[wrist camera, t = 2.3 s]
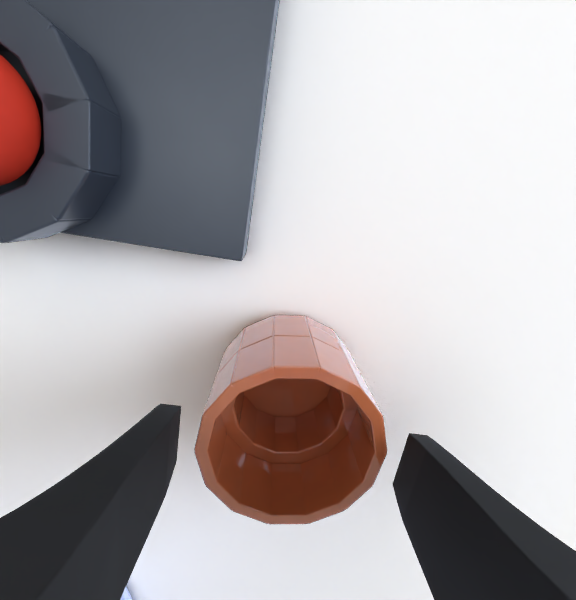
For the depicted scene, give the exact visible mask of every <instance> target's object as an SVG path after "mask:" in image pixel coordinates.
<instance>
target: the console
mask: <svg viewBox="0 0 576 600" xmlns="http://www.w3.org/2000/svg"><path fill="white" fill-rule="evenodd" d="M278 8H279V0H0V55H1V56H3V57H4V58H5V59H6V60H7V61H8V62H9V63H10V64H11V65H12V66H13V67H14V68H15V69H16V70H17V71H18V73H19V74H20V75H21V77H22V78H23V79H24V81H25V82H26V84H27V86H28V87H29V89H30V91H31V93H32V95H33V97H34V99H35V102H36V105H37V108H38V111H39V116H40V121H41V142H40V147H39V151H38V154H37V156H36V158H35V160H34V162H33V164H32V165H31V167H30V168H29V169H28V170H27V171H26V172H25V173H24V174H23V175H22V176H20V177H19V178H18V179H16V180H14V181H12V182H10V183H8V184H5V185H2V186H0V243H9V242H16V241H24V240H32V239H39V238H47V237H50V236H52V235H55V234H57V233H66V234H73V235H79V236H85V237H92V238H98V239H104V240H110V241H117V242H123V243H129V244H136V245H142V246H148V247H155V248H161V249H167V250H173V251H180V252H186V253H192V254H199V255H205V256H211V257H218V258H224V259H230V260H236V261H242V260H243V258H244V256H245V255H246V251H247V243H248V235H249V228H250V220H251V213H252V205H253V198H254V190H255V182H256V175H257V167H258V160H259V152H260V144H261V137H262V129H263V122H264V114H265V106H266V99H267V91H268V84H269V76H270V68H271V61H272V53H273V46H274V38H275V31H276V23H277V15H278Z"/></svg>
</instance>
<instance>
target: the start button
mask: <svg viewBox="0 0 576 600" xmlns="http://www.w3.org/2000/svg"><path fill="white" fill-rule="evenodd" d="M40 142H41V121H40V116H39V111H38V108H37V105H36V102H35V99H34V97H33V95H32V93H31V91H30V89H29V87H28V86H27V84H26V82H25V81H24V79H23V78H22V77H21V75H20V74H19V73H18V71H17V70H16V69H15V68H14V67H13V66H12V65H11V64H10V63H9V62H8V61H7V60H6V59H5V58H4V57H3V56H1V55H0V186H2V185H5V184H8V183H10V182H12V181H14V180H16V179H18V178H19V177H20V176H22V175H23V174H24V173H25V172H26V171H27V170H28V169H29V168H30V167H31V165H32V164H33V162H34V160H35V158H36V156H37V154H38V151H39V147H40Z"/></svg>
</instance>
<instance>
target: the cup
mask: <svg viewBox="0 0 576 600" xmlns="http://www.w3.org/2000/svg"><path fill="white" fill-rule="evenodd" d="M194 450H195V455H196V458H197V461H198V465H199V468H200V471H201V474H202V477H203V480H204V483H205V485H206V487H207V488H208V489H209V490H211V491H212V492H213V493H214V494H215V495H216V496H217V497H218V498H219V499H220V500H221V501H222V502H223V503H224V504H225V505H226V506H227V507H228V508H229V509H230V510H233V512H236V513H239V514H242V515H244V516H247V517H250V518H253V519H255V520H258V521H261V522H263V523H266V524H268V523H269V524H309V523H312V522H315V521H318V520H320V519H323V518H326V517H329V516H331V515H334V514H337V513H339V512H342V511H344V510H346V509H347V508H348V507H349V506H351V505H352V504H353V503H354V502H355V501H356V500H357V499H358V498H360V497H361V496H362V495H363V494H364V493H365V492H366V491H368V490H369V489H370V488H371V487H372V486H373V484H374V482H375V480H376V478H377V475H378V473H379V471H380V468H381V466H382V464H383V461H384V459H385V457H386V454H387V445H386V436H385V427H384V419H383V416H382V413H381V411H380V409H379V408H378V406H377V404H376V402H375V400H374V398H373V396H372V394H371V392H370V390H369V388H368V386H367V384H366V383H365V381H364V379H363V377H362V375H361V373H360V371H359V369H358V367H357V365H356V363H355V362H354V360H353V358H352V356H351V354H350V352H349V350H348V349H347V348H346V346H345V345H344V344H343V342H342V341H341V340H340V338H339V337H338V336H337V334H336V333H335V332H334V330H332V329H331V328H329V327H327V326H325V325H323V324H321V323H319V322H317V321H315V320H313V319H311V318H309V317H307V316H294V315H274V316H270V317H268V318H266V319H263V320H261V321H259V322H256V323H254V324H252V325H249V326H247V327H246V328H244V329H243V330H242V331H241V332H240V333H239V334H238V335H237V337H236V338H235V339H234V340H233V341H232V342H231V343H230V345H229V346H228V347H227V348H226V350H225V352H224V354H223V357H222V360H221V363H220V366H219V369H218V372H217V375H216V378H215V380H214V383H213V386H212V389H211V392H210V395H209V397H208V400H207V403H206V406H205V409H204V412H203V415H202V418H201V423H200V427H199V431H198V436H197V440H196V444H195V449H194Z"/></svg>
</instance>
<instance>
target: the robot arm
mask: <svg viewBox="0 0 576 600" xmlns="http://www.w3.org/2000/svg"><path fill="white" fill-rule="evenodd" d="M180 414H181V406H176V405H167V404H160V405H158V406H157V407H155V408H154V409H153V410H152V411H151V412H150V413H148V414H147V415H146V416H145V417H144V418H142V419H141V420H140V421H139V422H138V423H137V424H135V425H134V426H133V427H132V428H131V429H129V430H128V431H127V432H126V433H124V434H123V435H122V436H121V437H119V438H118V439H117V440H116V441H114V442H113V443H112V444H111V445H109V446H108V447H107V448H105V449H104V450H103V451H102V452H100V453H99V454H98V455H96V456H95V457H93V458H92V459H91V460H89V461H88V462H87V463H85V464H84V465H82V466H81V467H80V468H78V469H77V470H75V471H74V472H73V473H71V474H70V475H68V476H67V477H66V478H64V479H63V480H61V481H60V482H58V483H57V484H55V485H54V486H52V487H51V488H49V489H48V490H46V491H44V492H43V493H41V494H40V495H38V496H37V497H35V498H33V499H32V500H30V501H29V502H27V503H25V504H24V505H22V506H20V507H19V508H17V509H15V510H14V511H12V512H10V513H8V514H7V515H5V516H3V517H1V518H0V600H132V598H131V596H130V593H129V591H128V589H127V587H126V584H127V582H128V580H129V578H130V575H131V573H132V571H133V569H134V566H135V564H136V562H137V559H138V557H139V555H140V553H141V550H142V548H143V546H144V544H145V541H146V539H147V537H148V535H149V532H150V530H151V528H152V526H153V523H154V521H155V519H156V516H157V514H158V512H159V509H160V507H161V505H162V503H163V500H164V498H165V495H166V492H167V489H168V486H169V483H170V480H171V477H172V474H173V470H174V467H175V464H176V460H177V448H178V437H179V425H180ZM393 487H394V491H395V495H396V499H397V503H398V506H399V510H400V513H401V517H402V520H403V523H404V525H405V528H406V530H407V533H408V535H409V538H410V540H411V543H412V545H413V548H414V550H415V553H416V555H417V558H418V560H419V563H420V565H421V568H422V570H423V573H424V575H425V578H426V580H427V583H428V585H429V587H430V590H431V592H432V595H433V597H434V600H576V551H575V550H573V549H572V548H570V547H569V546H567V545H566V544H565V543H563V542H562V541H560V540H559V539H557V538H556V537H555V536H553V535H552V534H550V533H549V532H548V531H546V530H545V529H544V528H542V527H541V526H539V525H538V524H537V523H535V522H534V521H533V520H532V519H530V518H529V517H528V516H526V515H525V514H524V513H522V512H521V511H520V510H519V509H517V508H516V507H515V506H513V505H512V504H511V503H510V502H508V501H507V500H506V499H505V498H503V497H502V496H501V495H500V494H498V493H497V492H496V491H495V490H493V489H492V488H491V487H490V486H489V485H487V484H486V483H485V482H484V481H483V480H481V479H480V478H479V477H478V476H477V475H475V474H474V473H473V472H472V471H471V470H469V469H468V468H467V467H466V466H465V465H463V464H462V463H461V462H460V461H459V460H457V459H456V458H455V457H454V456H453V455H452V454H450V453H449V452H448V451H447V450H445V449H444V448H443V447H442V446H441V445H439V444H438V443H437V442H435V441H434V440H433V439H431V438H430V437H429V436H427V435H419V434H411V433H409V435H408V438H407V441H406V445H405V448H404V451H403V454H402V457H401V460H400V463H399V466H398V469H397V472H396V476H395V479H394V482H393Z"/></svg>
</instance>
